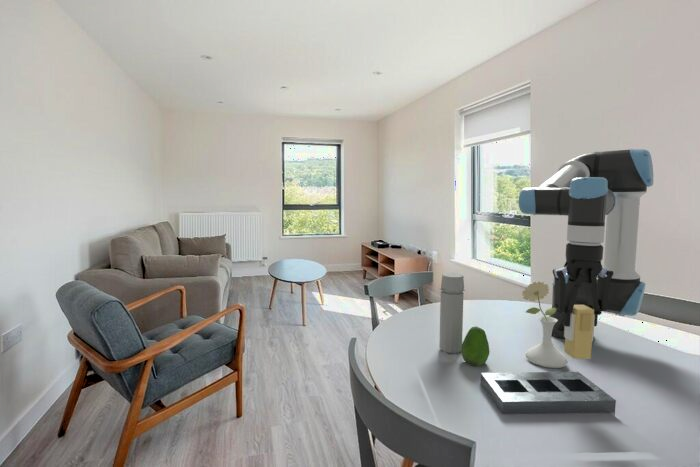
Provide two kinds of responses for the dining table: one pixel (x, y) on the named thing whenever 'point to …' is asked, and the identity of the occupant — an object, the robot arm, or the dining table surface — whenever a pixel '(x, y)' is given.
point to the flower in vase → (544, 351)
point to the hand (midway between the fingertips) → (578, 338)
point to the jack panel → (546, 393)
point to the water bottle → (451, 312)
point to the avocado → (475, 347)
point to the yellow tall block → (581, 333)
